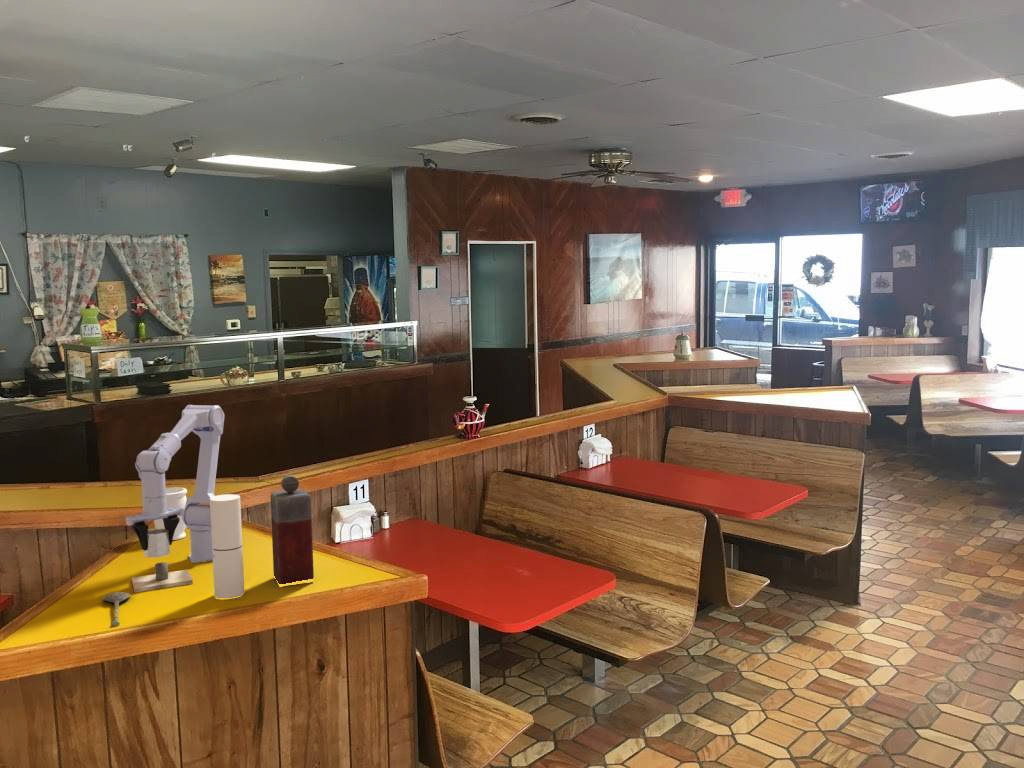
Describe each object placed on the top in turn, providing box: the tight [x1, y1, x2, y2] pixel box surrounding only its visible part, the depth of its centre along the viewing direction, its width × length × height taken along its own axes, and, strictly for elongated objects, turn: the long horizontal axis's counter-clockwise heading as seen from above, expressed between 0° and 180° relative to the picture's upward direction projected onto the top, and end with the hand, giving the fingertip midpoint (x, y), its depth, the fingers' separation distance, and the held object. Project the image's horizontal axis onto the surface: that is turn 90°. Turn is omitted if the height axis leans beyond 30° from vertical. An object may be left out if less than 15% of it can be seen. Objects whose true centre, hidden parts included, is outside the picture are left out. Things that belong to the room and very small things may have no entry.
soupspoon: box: [102, 591, 132, 627], centre depth 207 cm, size 22×3×7 cm
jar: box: [153, 486, 188, 541], centre depth 269 cm, size 11×10×15 cm
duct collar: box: [143, 528, 171, 558], centre depth 227 cm, size 6×6×6 cm
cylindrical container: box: [210, 493, 245, 598], centre depth 215 cm, size 7×7×25 cm
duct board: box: [131, 561, 194, 593], centre depth 227 cm, size 14×10×5 cm
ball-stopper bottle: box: [270, 474, 315, 584], centre depth 227 cm, size 9×11×28 cm
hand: (156, 546), depth 227 cm, fingers closed on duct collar, 6 cm apart
